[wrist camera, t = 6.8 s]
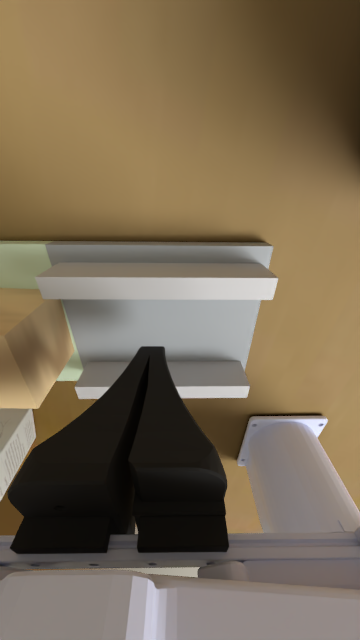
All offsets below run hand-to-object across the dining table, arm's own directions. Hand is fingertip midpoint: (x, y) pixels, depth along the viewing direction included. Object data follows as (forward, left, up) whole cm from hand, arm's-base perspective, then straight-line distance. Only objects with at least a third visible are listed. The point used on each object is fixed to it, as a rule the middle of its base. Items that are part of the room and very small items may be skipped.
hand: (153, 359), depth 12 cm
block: (0, +9, -4) cm, 10 cm away
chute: (0, +3, -4) cm, 5 cm away
